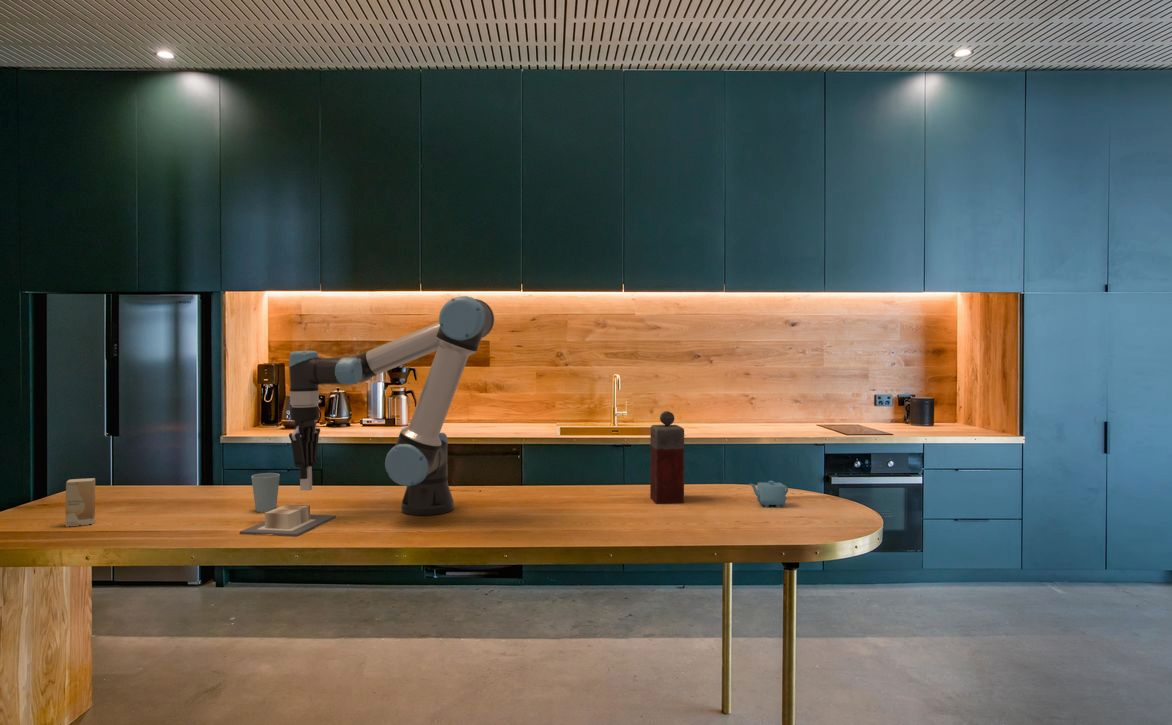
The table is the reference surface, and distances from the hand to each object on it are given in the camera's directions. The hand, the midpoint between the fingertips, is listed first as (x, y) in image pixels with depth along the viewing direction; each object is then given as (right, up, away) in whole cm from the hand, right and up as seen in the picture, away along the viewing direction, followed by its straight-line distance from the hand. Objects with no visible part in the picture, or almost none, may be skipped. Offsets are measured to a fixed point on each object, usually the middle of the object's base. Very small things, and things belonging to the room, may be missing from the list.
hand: (306, 489), depth 201 cm
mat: (-2, -8, -7) cm, 11 cm away
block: (-1, -6, -3) cm, 7 cm away
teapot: (+134, -8, +17) cm, 135 cm away
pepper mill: (+104, -8, +25) cm, 107 cm away
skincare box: (-59, -9, -6) cm, 60 cm away
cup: (-16, -8, +10) cm, 21 cm away
